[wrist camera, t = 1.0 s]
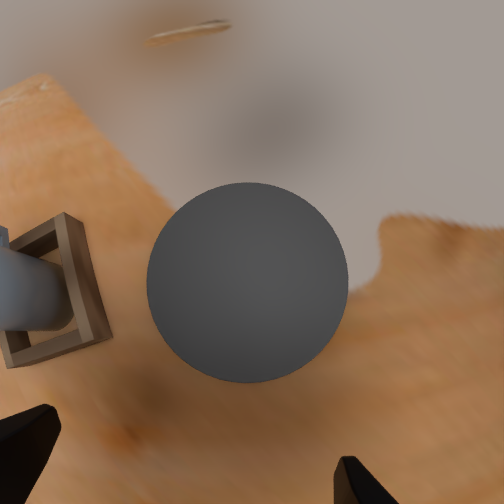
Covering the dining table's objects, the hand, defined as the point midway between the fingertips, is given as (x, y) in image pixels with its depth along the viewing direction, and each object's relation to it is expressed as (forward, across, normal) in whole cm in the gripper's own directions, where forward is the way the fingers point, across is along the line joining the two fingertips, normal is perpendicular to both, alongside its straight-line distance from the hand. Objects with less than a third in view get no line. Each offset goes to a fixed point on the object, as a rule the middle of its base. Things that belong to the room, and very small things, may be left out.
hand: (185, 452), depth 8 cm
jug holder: (+14, +16, +2) cm, 21 cm away
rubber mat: (+15, 0, -1) cm, 15 cm away
